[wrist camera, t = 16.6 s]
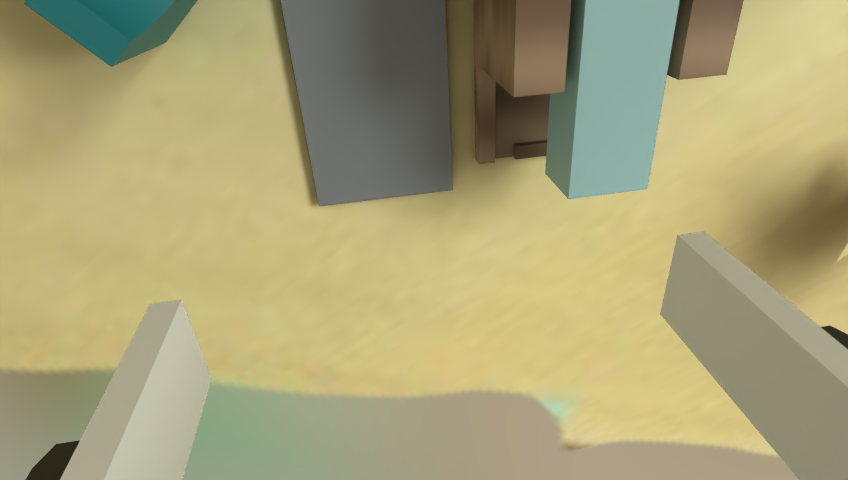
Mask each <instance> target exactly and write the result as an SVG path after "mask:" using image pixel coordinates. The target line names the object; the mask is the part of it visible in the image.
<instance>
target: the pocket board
mask: <svg viewBox="0 0 848 480" xmlns="http://www.w3.org/2000/svg"><path fill="white" fill-rule="evenodd" d="M742 4H743V0H680V1H679V7H678V13H677V19H676V25H675V30H674V36H673V42H672V48H671V54H670V60H669V65H668V71H667V75H669V76H671V77H674V78H676V79H678V80H680V79H690V78H699V77H708V76H718V75H726V74H727V70H728V66H729V61H730V57H731V52H732V48H733V44H734V39H735V35H736V31H737V26H738V22H739V17H740V13H741V9H742ZM570 11H571V0H474V61H475V134H476V160H477V162H478V163H479V164H485V163H493V162H495V158H503V157H512V156H514V158H515V159H522V158H531V157H539V156H546V154H547V137H548V121H549V104H550V93H559V92H565V79H566V65H567V52H568V38H569V25H570Z"/></svg>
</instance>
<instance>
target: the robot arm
mask: <svg viewBox="0 0 848 480" xmlns="http://www.w3.org/2000/svg"><path fill="white" fill-rule="evenodd" d="M660 315H661V316H662V317H663V318H664V319H665V320H666V322H667V323H668V324H669V325H670V326H671V328H672V329H673V330H674V331H675V332H676V334H677V335H678V336H679V337H680V338H681V340H682V341H683V342H684V343H685V344H686V345H687V347H688V348H689V349H690V350H691V351H692V353H693V354H694V355H695V356H696V357H697V359H698V360H699V361H700V362H701V363H702V365H703V366H704V367H705V368H706V369H707V370H708V372H709V373H710V374H711V375H712V376H713V378H714V379H715V380H716V381H717V382H718V384H719V385H720V386H721V387H722V388H723V389H724V391H725V392H726V393H727V394H728V395H729V397H730V398H731V399H732V400H733V401H734V403H735V404H736V405H737V406H738V407H739V409H740V410H741V411H742V412H743V413H744V414H745V416H746V417H747V418H748V419H749V420H750V422H751V423H752V424H753V425H754V426H755V428H756V429H757V430H758V431H759V432H760V433H761V435H762V436H763V437H764V438H765V439H766V441H767V442H768V443H769V444H770V445H771V447H772V448H773V449H774V450H775V451H776V453H777V454H778V455H779V456H780V457H781V458H782V460H783V461H784V462H785V463H786V464H787V465H788V467H789V468H790V469H791V470H792V472H793V473H794V474H795V475H796V476H797V478H798V479H799V480H848V334H846V333H844V332H842V331H840V330H838V329H836V328H834V327H832V326H825V327H820V326H819V325H817V324H816V323H815V322H814V321H813V320H811V319H810V318H809V317H808V316H806V315H805V314H804V313H803V312H802V311H800V310H799V309H798V308H797V307H795V306H794V305H793V304H792V303H791V302H789V301H788V300H787V299H786V298H784V297H783V296H782V295H781V294H780V293H778V292H777V291H776V290H775V289H773V288H772V287H771V286H770V285H769V284H767V283H766V282H765V281H764V280H763V279H761V278H760V277H759V276H758V275H756V274H755V273H754V272H753V271H752V270H750V269H749V268H748V267H747V266H745V265H744V264H743V263H742V262H741V261H739V260H738V259H737V258H736V257H734V256H733V255H732V254H731V253H730V252H728V251H727V250H726V249H725V248H723V247H722V246H721V245H720V244H719V243H717V242H716V241H715V240H714V239H712V238H711V237H710V236H709V235H708V234H706V233H705V232H696V233H689V234H681V235H677V239H676V244H675V248H674V253H673V257H672V262H671V267H670V271H669V276H668V280H667V285H666V289H665V294H664V299H663V303H662V308H661V312H660ZM210 383H211V376H210V373H209V371H208V368H207V366H206V363H205V360H204V358H203V355H202V352H201V350H200V347H199V345H198V342H197V339H196V337H195V334H194V331H193V329H192V326H191V324H190V321H189V318H188V316H187V313H186V310H185V308H184V305H183V303H182V300H177V301H169V302H162V303H154V304H150V305H149V307H148V309H147V311H146V313H145V315H144V316H143V318H142V320H141V322H140V324H139V326H138V328H137V330H136V332H135V334H134V336H133V338H132V340H131V342H130V344H129V346H128V348H127V350H126V352H125V354H124V356H123V358H122V360H121V361H120V363H119V365H118V367H117V369H116V371H115V373H114V375H113V377H112V379H111V381H110V383H109V385H108V387H107V389H106V391H105V393H104V395H103V397H102V399H101V401H100V403H99V404H98V406H97V408H96V410H95V412H94V414H93V416H92V418H91V420H90V422H89V424H88V426H87V428H86V430H85V432H84V434H83V436H82V438H81V440H80V441H74V442H67V443H60V444H56V445H55V446H54V447H53V448H52V449H51V450H50V451H49V452H48V453H47V454H46V455H45V456H44V457H43V458H42V459H41V460H40V461H39V462H38V463H37V464H36V465H35V466H34V467H33V468H32V470H31V472H30V473H29V475H28V477H27V479H26V480H183V476H184V473H185V470H186V466H187V462H188V459H189V456H190V452H191V448H192V445H193V442H194V438H195V435H196V431H197V428H198V424H199V421H200V417H201V414H202V410H203V407H204V403H205V400H206V397H207V393H208V389H209V386H210Z"/></svg>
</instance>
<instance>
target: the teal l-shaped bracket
mask: <svg viewBox="0 0 848 480" xmlns="http://www.w3.org/2000/svg"><path fill="white" fill-rule="evenodd" d="M196 1H197V0H26V2H25V3H24V4H26V5H27V6H29V7H30V8H31V9H33V10H34V11H35V12H37V13H38V14H40V15H41V16H42V17H44V18H45V19H46V20H48V21H49V22H51V23H52V24H53V25H55V26H56V27H57V28H59V29H60V30H62V31H63V32H64V33H66V34H67V35H68V36H70V37H71V38H73V39H74V40H75V41H77V42H78V43H79V44H81V45H82V46H84V47H85V48H86V49H88V50H89V51H90V52H92V53H93V54H95V55H96V56H97V57H99V58H100V59H101V60H103V61H104V62H106V63H107V64H108V65H110V66H111V67H112V66H114V65H116V64H119V63H121V62H123V61H125V60H127V59H130V58H132V57H134V56H136V55H139V54H141V53H143V52H145V51H147V50H150V49H152V48H154V47H156V46H159V45H161V44H163V43H165V42H166V41H167V40H168V39H169V37H170V36H171V35H172V33H173V32H174V31H175V29H176V28H177V27H178V25H179V24H180V23H181V21H182V20H183V19H184V17H185V16H186V15H187V13H188V12H189V11H190V9H191V8H192V7H193V5H194V4H195V3H196Z"/></svg>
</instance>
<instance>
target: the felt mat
mask: <svg viewBox="0 0 848 480" xmlns="http://www.w3.org/2000/svg"><path fill="white" fill-rule="evenodd" d="M281 6H282V11H283V16H284V22H285V27H286V32H287V38H288V43H289V48H290V54H291V59H292V64H293V70H294V75H295V80H296V86H297V91H298V96H299V102H300V107H301V112H302V118H303V123H304V129H305V134H306V139H307V145H308V150H309V155H310V161H311V166H312V171H313V177H314V182H315V187H316V193H317V198H318V203H319V206H326V205H334V204H342V203H350V202H359V201H367V200H375V199H383V198H391V197H399V196H407V195H416V194H424V193H432V192H440V191H448V190H453V184H452V159H451V133H450V108H449V82H448V56H447V31H446V5H445V0H281Z"/></svg>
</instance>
